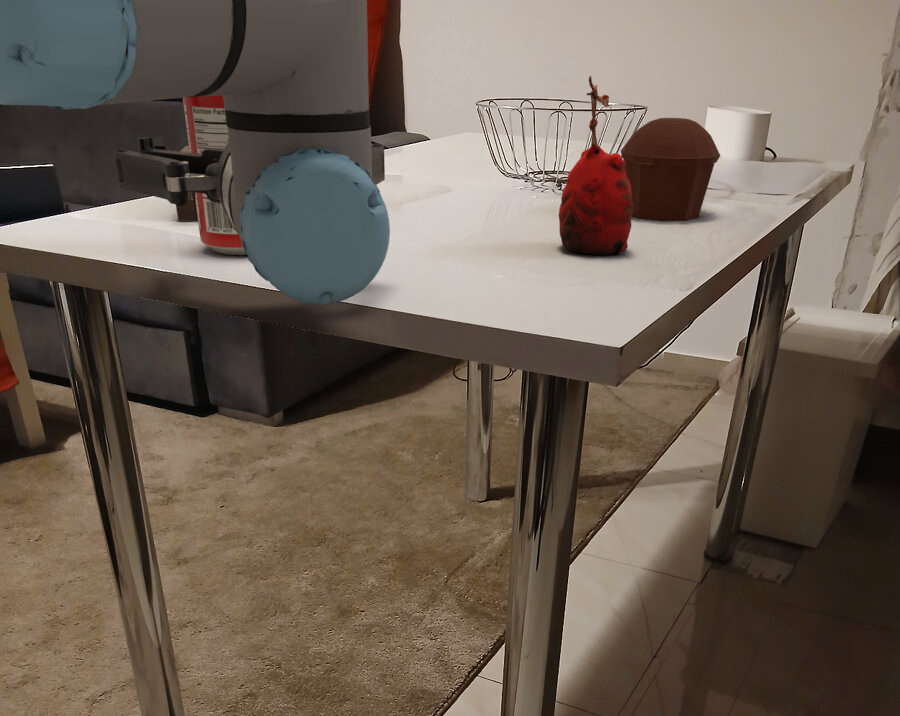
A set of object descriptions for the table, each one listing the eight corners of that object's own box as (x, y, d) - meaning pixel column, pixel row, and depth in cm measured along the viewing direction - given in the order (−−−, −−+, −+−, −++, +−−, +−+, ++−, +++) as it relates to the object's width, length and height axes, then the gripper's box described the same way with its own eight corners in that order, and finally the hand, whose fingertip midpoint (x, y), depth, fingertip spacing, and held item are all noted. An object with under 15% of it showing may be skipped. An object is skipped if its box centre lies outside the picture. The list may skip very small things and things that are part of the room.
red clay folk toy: (644, 253, 88) (666, 76, 80) (594, 261, 85) (612, 77, 77) (588, 239, 93) (604, 72, 85) (539, 247, 90) (550, 73, 82)
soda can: (204, 259, 83) (181, 70, 74) (199, 242, 89) (177, 66, 81) (290, 256, 84) (276, 71, 76) (278, 239, 91) (265, 67, 83)
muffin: (692, 226, 101) (707, 125, 95) (600, 216, 105) (609, 119, 100) (721, 211, 109) (736, 118, 104) (634, 202, 114) (645, 113, 109)
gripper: (88, 263, 57) (95, 207, 74) (463, 245, 63) (390, 197, 80) (62, 129, 53) (76, 103, 70) (465, 124, 59) (388, 102, 76)
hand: (244, 153), depth 75 cm, fingers open, 13 cm apart
